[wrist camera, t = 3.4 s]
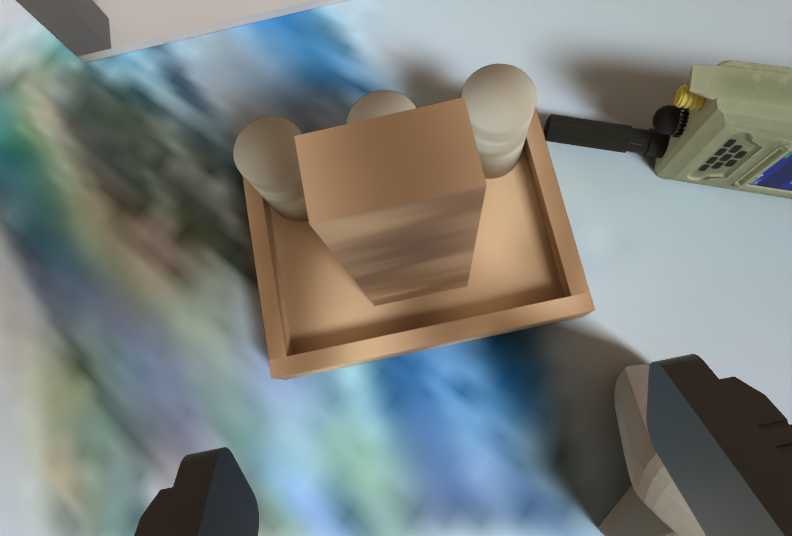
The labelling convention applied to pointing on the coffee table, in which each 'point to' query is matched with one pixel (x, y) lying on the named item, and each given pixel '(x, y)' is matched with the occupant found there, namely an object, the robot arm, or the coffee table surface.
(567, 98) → the coffee table surface
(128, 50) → the grey stool
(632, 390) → the digital clock
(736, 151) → the handheld radio
